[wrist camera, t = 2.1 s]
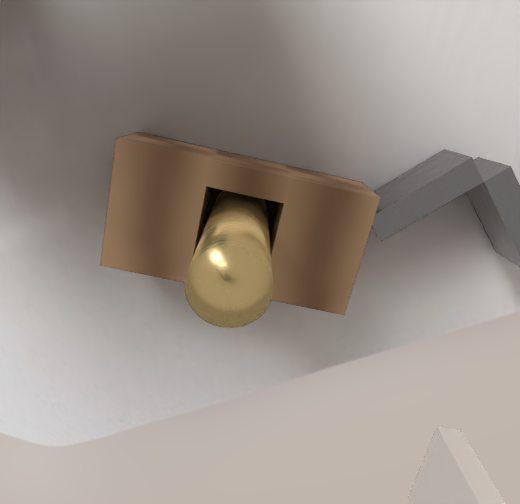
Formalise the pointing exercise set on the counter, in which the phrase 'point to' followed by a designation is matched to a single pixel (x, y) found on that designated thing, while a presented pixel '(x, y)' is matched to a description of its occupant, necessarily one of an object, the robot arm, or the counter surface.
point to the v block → (450, 187)
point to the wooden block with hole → (247, 183)
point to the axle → (232, 263)
